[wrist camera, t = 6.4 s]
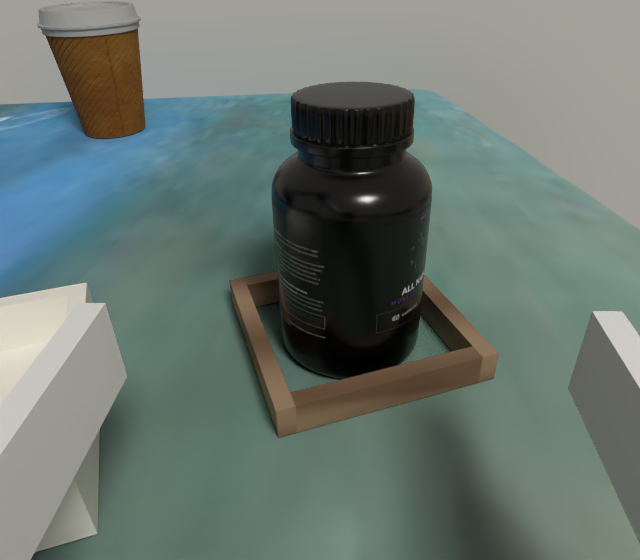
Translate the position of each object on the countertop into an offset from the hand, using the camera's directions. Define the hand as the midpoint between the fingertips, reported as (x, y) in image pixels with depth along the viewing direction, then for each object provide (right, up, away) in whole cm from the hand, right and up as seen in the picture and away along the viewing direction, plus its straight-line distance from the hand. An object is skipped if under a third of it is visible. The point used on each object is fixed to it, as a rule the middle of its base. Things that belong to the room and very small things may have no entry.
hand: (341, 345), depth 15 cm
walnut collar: (+1, -1, +12) cm, 12 cm away
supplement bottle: (+1, -1, +12) cm, 12 cm away
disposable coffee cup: (-23, +18, +43) cm, 52 cm away
